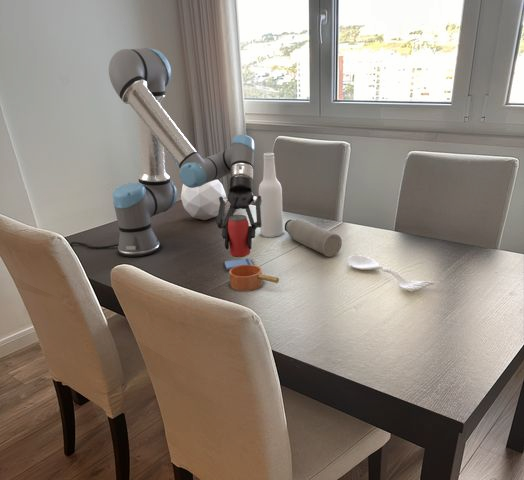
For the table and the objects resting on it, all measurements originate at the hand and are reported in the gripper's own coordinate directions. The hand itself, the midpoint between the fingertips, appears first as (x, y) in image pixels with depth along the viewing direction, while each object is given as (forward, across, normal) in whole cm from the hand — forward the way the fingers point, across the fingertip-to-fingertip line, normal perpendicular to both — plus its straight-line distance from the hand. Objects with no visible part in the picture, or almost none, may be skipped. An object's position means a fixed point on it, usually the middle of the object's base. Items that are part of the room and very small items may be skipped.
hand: (238, 247), depth 152 cm
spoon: (+8, +45, +7) cm, 47 cm away
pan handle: (+12, +10, -2) cm, 16 cm away
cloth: (0, -2, +14) cm, 14 cm away
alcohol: (-23, +6, +38) cm, 45 cm away
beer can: (0, 0, +5) cm, 5 cm away
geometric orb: (-40, -25, +54) cm, 72 cm away
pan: (+11, +3, +3) cm, 12 cm away
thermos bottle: (-8, +30, +17) cm, 35 cm away
